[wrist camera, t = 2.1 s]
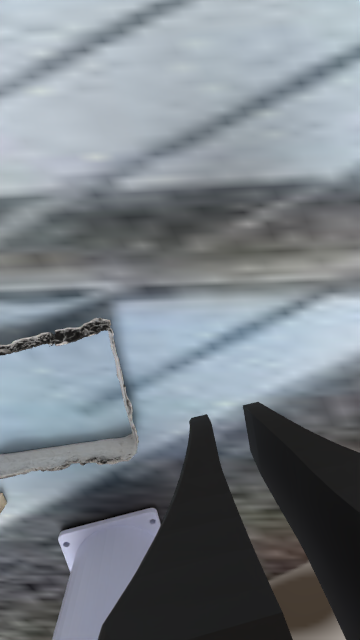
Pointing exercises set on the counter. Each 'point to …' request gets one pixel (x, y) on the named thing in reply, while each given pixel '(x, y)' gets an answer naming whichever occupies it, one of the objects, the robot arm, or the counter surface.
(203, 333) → the counter surface
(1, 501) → the oak frame
